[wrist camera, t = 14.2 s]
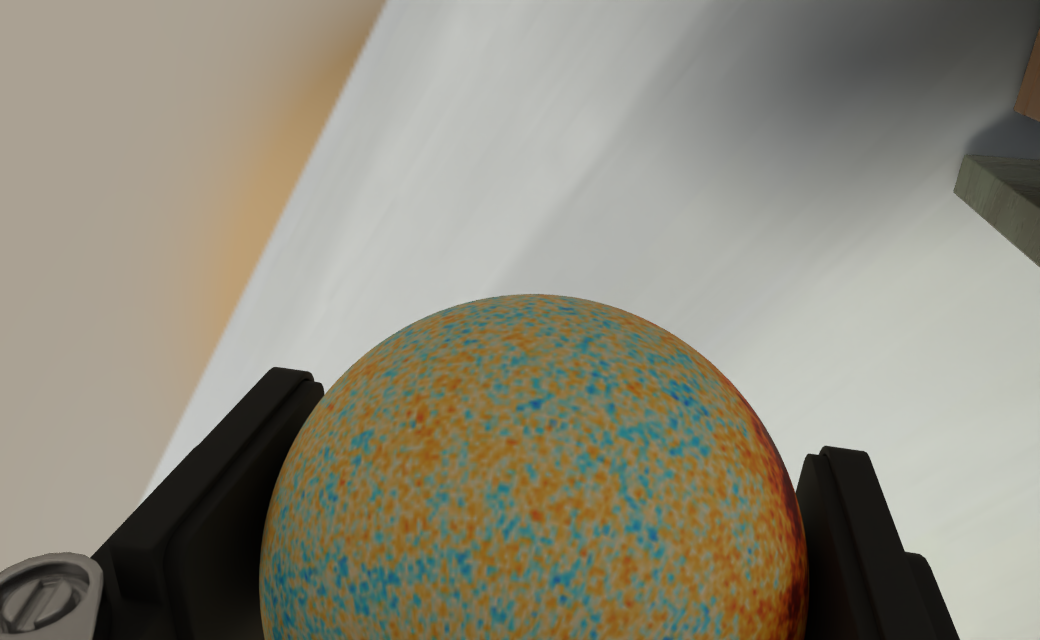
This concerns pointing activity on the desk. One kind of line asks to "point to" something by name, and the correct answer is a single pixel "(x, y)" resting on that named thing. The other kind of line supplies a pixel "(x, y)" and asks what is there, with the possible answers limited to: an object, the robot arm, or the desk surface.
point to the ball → (533, 490)
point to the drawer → (1009, 178)
